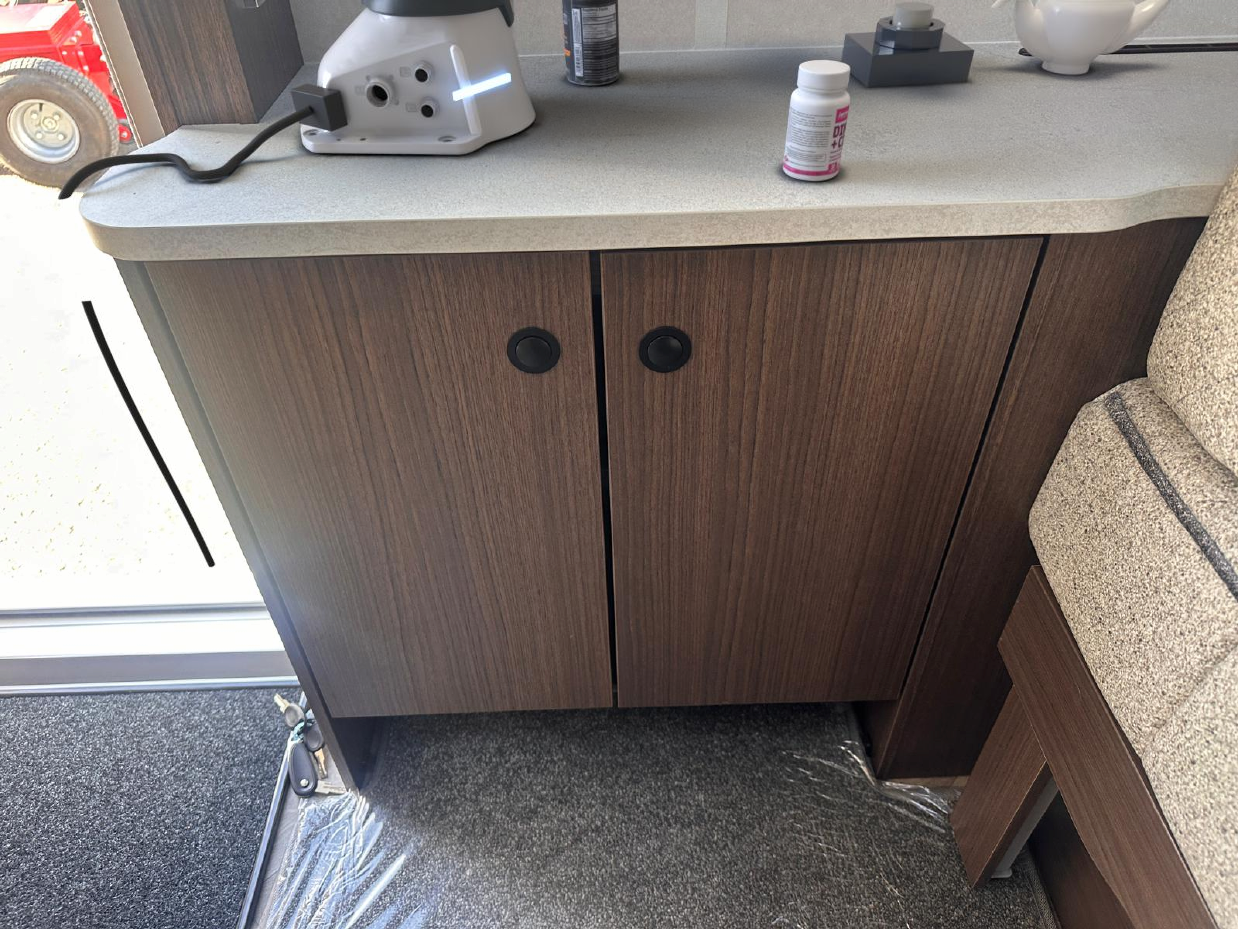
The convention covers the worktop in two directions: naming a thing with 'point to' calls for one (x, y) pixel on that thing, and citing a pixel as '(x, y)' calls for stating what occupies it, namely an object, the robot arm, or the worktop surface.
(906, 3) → the dispenser button
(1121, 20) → the teapot
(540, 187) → the worktop surface
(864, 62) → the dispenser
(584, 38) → the dark grey can
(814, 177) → the pill bottle
